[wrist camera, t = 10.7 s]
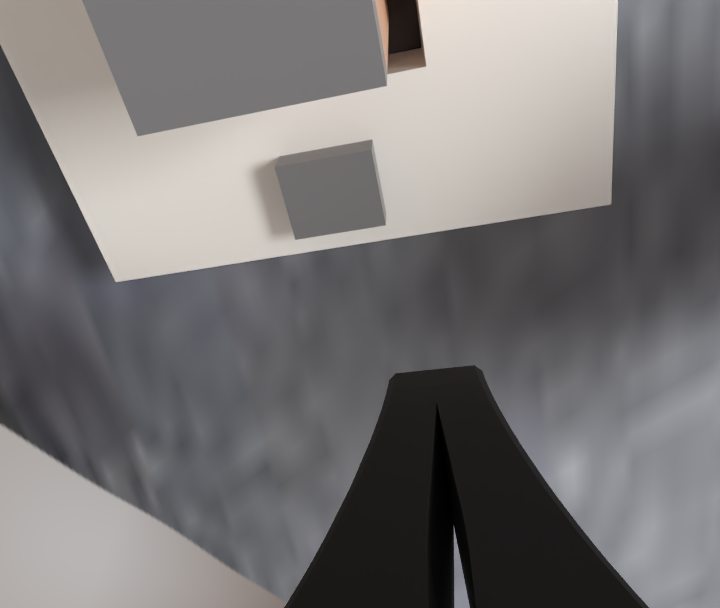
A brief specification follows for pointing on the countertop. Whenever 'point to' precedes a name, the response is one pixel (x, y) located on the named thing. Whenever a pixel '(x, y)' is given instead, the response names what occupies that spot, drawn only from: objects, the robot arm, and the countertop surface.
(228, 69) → the plug
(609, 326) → the countertop surface
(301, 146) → the socket plate
